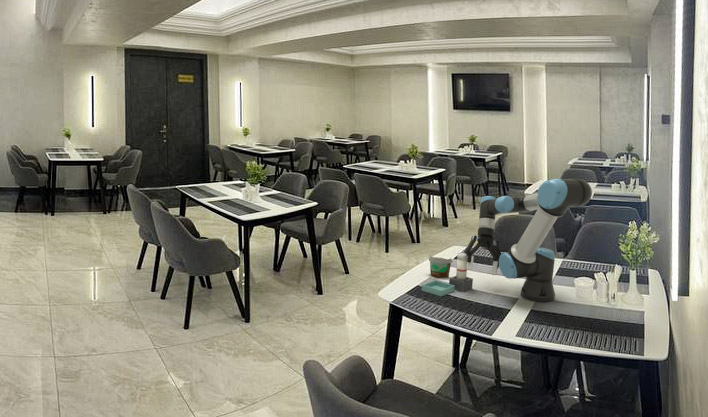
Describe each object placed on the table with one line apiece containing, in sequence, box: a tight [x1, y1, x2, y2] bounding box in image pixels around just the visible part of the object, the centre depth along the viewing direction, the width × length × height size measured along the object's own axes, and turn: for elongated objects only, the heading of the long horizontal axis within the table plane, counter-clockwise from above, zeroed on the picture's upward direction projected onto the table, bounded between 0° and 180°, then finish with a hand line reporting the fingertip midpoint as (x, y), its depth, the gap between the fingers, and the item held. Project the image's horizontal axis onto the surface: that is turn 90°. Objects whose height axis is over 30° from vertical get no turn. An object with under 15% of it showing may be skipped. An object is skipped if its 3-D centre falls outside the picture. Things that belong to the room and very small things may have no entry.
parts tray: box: [421, 279, 456, 297], centre depth 275 cm, size 11×11×3 cm
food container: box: [428, 254, 453, 279], centre depth 296 cm, size 12×6×10 cm, turn 62°
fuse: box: [455, 252, 468, 281], centre depth 278 cm, size 5×5×15 cm
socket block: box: [448, 275, 474, 293], centre depth 280 cm, size 8×8×5 cm
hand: (482, 272), depth 274 cm, fingers open, 13 cm apart
